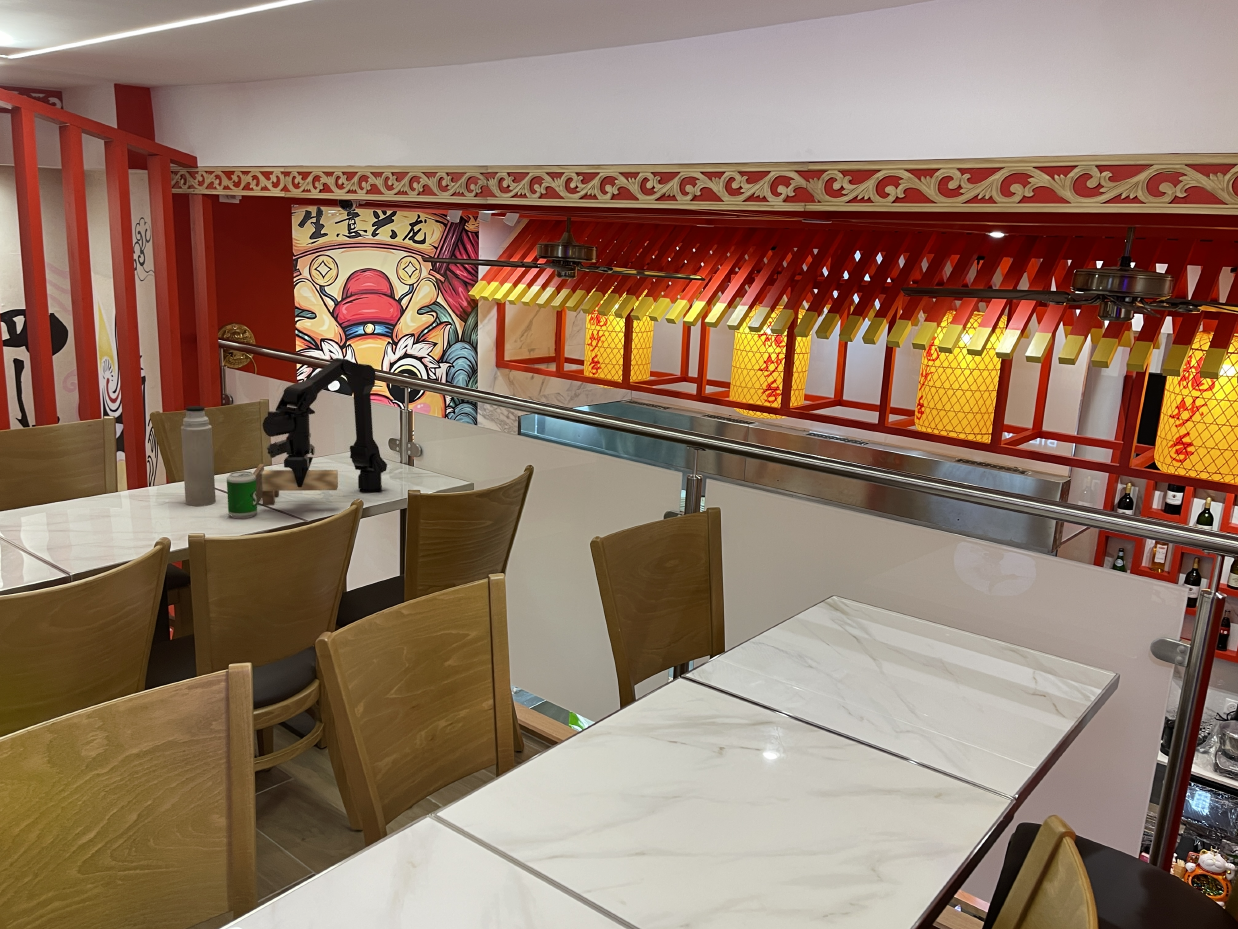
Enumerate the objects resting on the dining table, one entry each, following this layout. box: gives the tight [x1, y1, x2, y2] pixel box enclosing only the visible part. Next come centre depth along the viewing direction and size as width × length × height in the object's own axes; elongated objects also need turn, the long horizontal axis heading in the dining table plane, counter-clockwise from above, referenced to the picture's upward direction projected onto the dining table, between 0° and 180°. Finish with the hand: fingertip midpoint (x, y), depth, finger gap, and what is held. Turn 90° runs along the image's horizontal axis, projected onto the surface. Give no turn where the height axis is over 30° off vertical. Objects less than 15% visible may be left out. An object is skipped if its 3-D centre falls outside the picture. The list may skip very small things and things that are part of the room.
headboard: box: [252, 463, 280, 506], centre depth 278 cm, size 6×16×9 cm, turn 11°
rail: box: [260, 469, 339, 492], centre depth 268 cm, size 21×4×5 cm, turn 101°
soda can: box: [226, 470, 258, 519], centre depth 261 cm, size 8×8×12 cm
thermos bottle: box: [180, 405, 217, 507], centre depth 270 cm, size 8×8×28 cm
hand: (300, 485), depth 269 cm, fingers closed on rail, 4 cm apart
